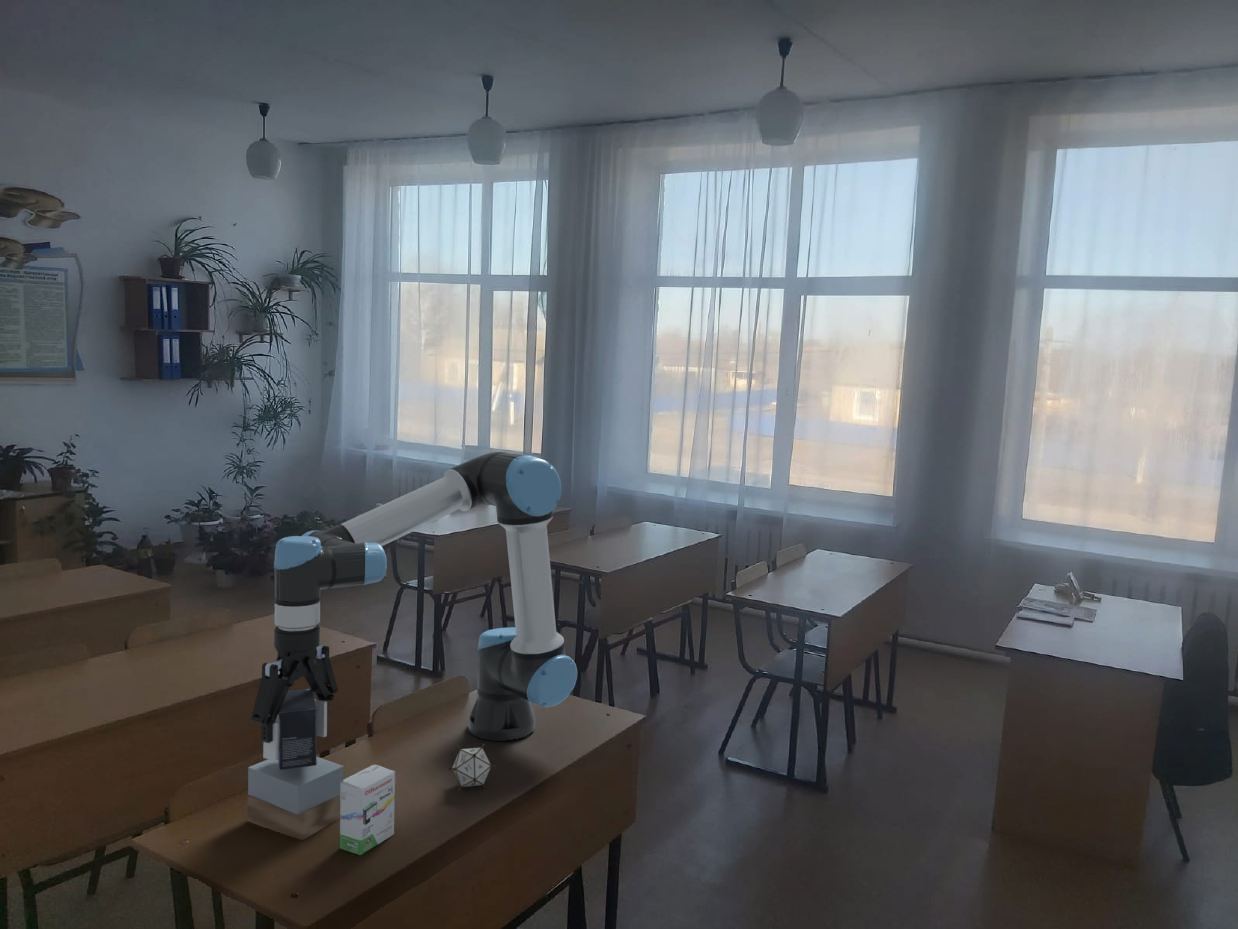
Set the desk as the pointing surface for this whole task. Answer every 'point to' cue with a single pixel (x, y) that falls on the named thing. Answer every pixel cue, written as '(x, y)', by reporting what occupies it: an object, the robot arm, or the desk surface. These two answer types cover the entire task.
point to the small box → (297, 730)
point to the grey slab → (295, 784)
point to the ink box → (367, 809)
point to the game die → (471, 767)
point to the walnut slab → (293, 817)
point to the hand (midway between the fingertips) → (296, 746)
